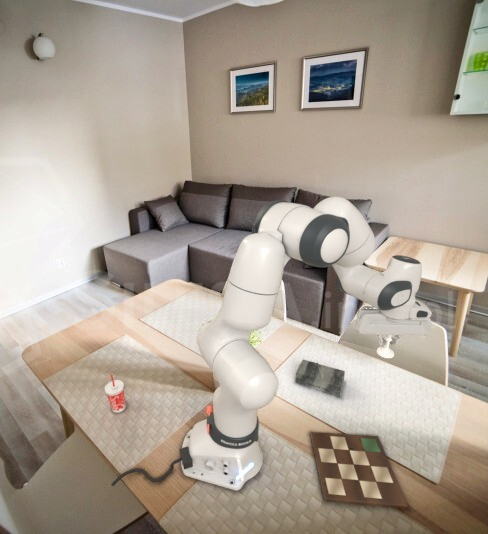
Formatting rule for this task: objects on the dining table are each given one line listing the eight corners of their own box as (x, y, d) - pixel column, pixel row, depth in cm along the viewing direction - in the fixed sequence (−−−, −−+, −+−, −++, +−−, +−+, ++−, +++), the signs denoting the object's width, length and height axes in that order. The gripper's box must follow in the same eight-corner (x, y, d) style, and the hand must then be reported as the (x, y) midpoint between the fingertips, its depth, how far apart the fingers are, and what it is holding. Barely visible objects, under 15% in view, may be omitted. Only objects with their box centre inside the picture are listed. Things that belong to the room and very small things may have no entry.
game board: (324, 501, 78) (325, 498, 77) (310, 434, 94) (310, 431, 93) (406, 509, 75) (407, 505, 74) (377, 438, 91) (378, 435, 91)
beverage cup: (106, 412, 107) (97, 379, 101) (116, 398, 112) (108, 366, 106) (122, 416, 105) (114, 383, 99) (131, 401, 110) (124, 369, 104)
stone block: (302, 367, 119) (303, 355, 116) (345, 380, 111) (346, 368, 109) (295, 383, 112) (295, 371, 110) (340, 398, 105) (341, 386, 102)
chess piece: (393, 350, 106) (399, 324, 102) (394, 359, 102) (401, 333, 98) (376, 346, 108) (381, 321, 104) (376, 356, 104) (382, 330, 100)
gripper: (362, 311, 96) (355, 349, 102) (438, 313, 93) (427, 351, 99) (355, 301, 102) (349, 337, 108) (427, 301, 99) (417, 338, 105)
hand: (387, 344), depth 103 cm, fingers closed on chess piece
